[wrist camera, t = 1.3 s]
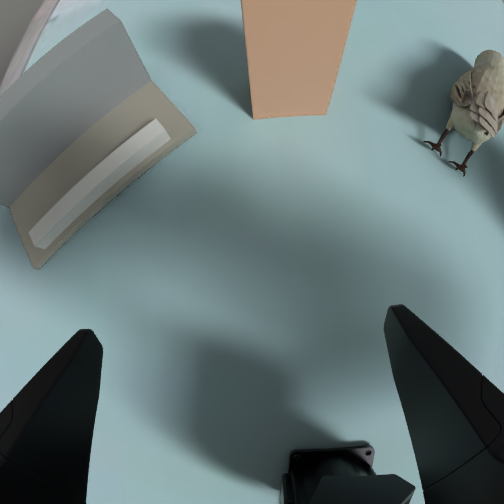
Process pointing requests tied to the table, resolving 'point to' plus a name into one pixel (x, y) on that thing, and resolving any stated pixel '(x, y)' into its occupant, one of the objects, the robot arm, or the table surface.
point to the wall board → (80, 133)
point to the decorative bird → (477, 103)
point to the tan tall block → (294, 53)
